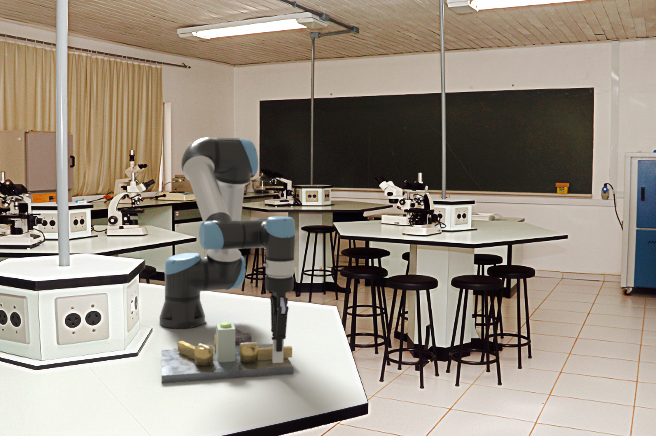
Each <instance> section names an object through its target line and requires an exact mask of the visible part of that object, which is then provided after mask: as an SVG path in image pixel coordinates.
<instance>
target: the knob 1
mask: <svg viewBox="0 0 656 436" xmlns="http://www.w3.org/2000/svg"><path fill="white" fill-rule="evenodd" d="M177 349H178V352H180V353H182V354H184V355H186V356H189V357H191V358H193V359H195V364H197V365H210V364H212V363H213V362H214V345H212V344H204V343H198V345H197V346H196V345H193V344H190V343H188V342H186V341H184V340H180V341H177Z"/></svg>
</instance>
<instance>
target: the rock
mask: <svg viewBox="0 0 656 436" xmlns="http://www.w3.org/2000/svg"><path fill="white" fill-rule="evenodd" d="M215 335H216V330H215V331H214V333H213V338H214V336H215ZM252 339H253V337H252V334H251V332H243V331H241V330H240V329H237V328H235V346H240V344H241V343H246V342H252Z"/></svg>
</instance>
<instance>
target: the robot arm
mask: <svg viewBox="0 0 656 436" xmlns="http://www.w3.org/2000/svg"><path fill="white" fill-rule="evenodd" d="M258 158H259V156H258V152H257V148H256V145H255V143H254V142H253V141H252V140H251V139H246V138H239V137H235V138H234V137H209V136H207V137H201V138H199V139H196V140H195V141H193V142H192V143H190V144H189V146H187V148H186V149H185V150H184V153H183V155H182V157H181V161H180V162H181V170H182V175H183V176H184V177H185V179H186V180H188V181H189V183H190V187H191V190H192V192H193V194H194V195H193V196H194V199H195V201H196V204H197V207H198V210H199V213H200V216H201V219H202V222H201V223H200V226H199V229H198V230H199V231H198V236H199V237H198V238H199V243H200V246H201V248H202V249H204V250H207V251H206V252H207V253H206V256H204V257H203V256H201V254H200V253H198V252H184V253H179V254H175V255H172V256H169V257H168V258H167V259H166V260H165V264H164V272H163V273H164V302H163V306H162V308H161V311H160V315H159V325H161V326H162V327H164V328H169V329H190V328H196V327H200V326H202V325H203V324H205V322H206V315H205V310H204V309H203V304H202V302H201V292H206V291H207V292H208V291H219V290H220V291H221V290H226V291H229V290H232V289H233V290H234V289H238V288H239V287H240V286H242V285H243V283H244V280H245V276H246V272H247V271H246V270H247V269H246V266H247V265H246V259H245V257H244V256H243V255H242V252H241V251H240V250H239V249H259V248H263V249H265V262H264V263H263V267H265V274H266V275H265V276H264V278H265V279H264V289H265V291H267V292H270V293H272V295H270V296H269V299H270V301H269V302H270V325H271V329H270V332H271V333H272V336H271V341H272V344H273V350H272V362H273V363H282V362H283V350H284V344H285V343H284V342H285V341H284V340H286V339H287V338H286V337H287V323H288V313H289V309H290V308H289V306H288V304H289V300H288V297H287V295H286V294H287V293H288V292H292V291H293V290H294V287H295V286H294V282H295V277H294V276H293V275H294V274H295V241H296V239H295V238H296V221H295V219H294V218H293V217H291V216H286V215H283V216H282V215H274V216H273V215H272V216H269V217H267V218H258V219H255V220H242V212H243V203H244V196H245V195H244V194H245V186H247V184H250V182H251V176H254V175H256V174H257V173H258V170H259V159H258Z"/></svg>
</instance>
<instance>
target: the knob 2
mask: <svg viewBox="0 0 656 436" xmlns="http://www.w3.org/2000/svg"><path fill="white" fill-rule="evenodd" d="M258 345H259V344H258V342H257V341H255V342H246V343H241V344H240V353H239V360H240V361H242V362H255V361H257V360H260V359H272V350H273V347H267V348H258ZM283 358H288V359H289V358H293V346H292V345H288V346H287V345H285V346H284V350H283Z"/></svg>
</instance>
